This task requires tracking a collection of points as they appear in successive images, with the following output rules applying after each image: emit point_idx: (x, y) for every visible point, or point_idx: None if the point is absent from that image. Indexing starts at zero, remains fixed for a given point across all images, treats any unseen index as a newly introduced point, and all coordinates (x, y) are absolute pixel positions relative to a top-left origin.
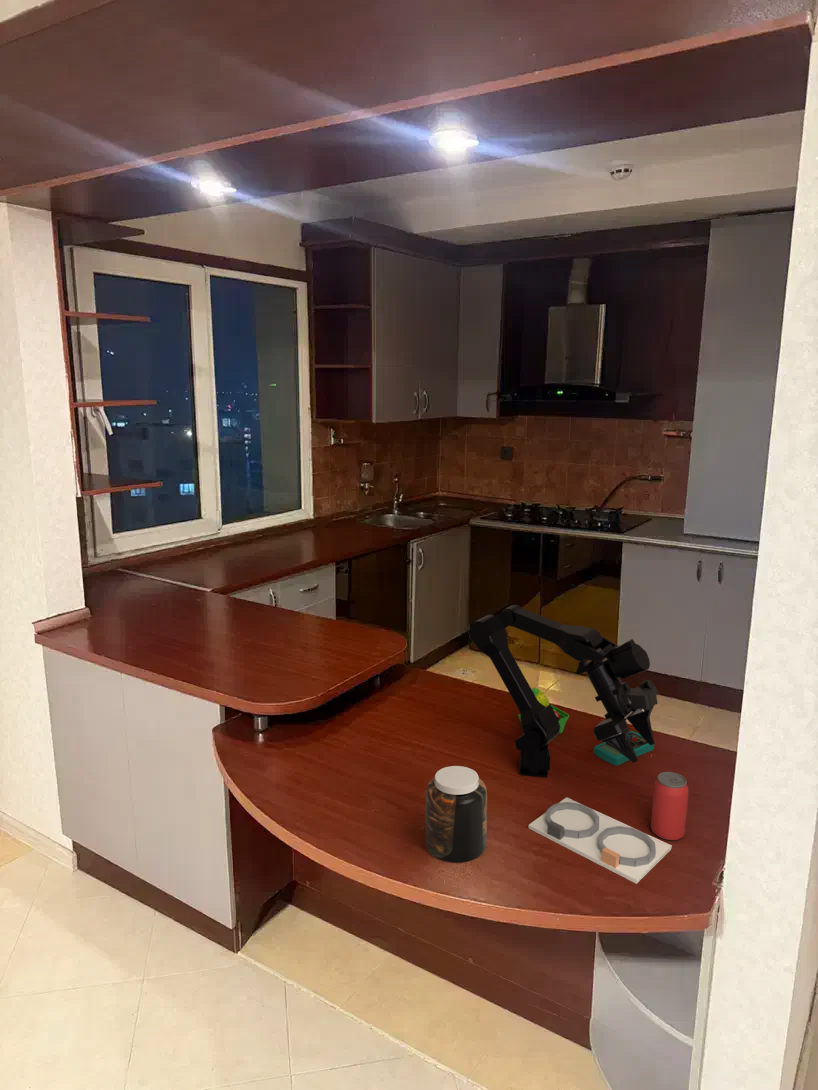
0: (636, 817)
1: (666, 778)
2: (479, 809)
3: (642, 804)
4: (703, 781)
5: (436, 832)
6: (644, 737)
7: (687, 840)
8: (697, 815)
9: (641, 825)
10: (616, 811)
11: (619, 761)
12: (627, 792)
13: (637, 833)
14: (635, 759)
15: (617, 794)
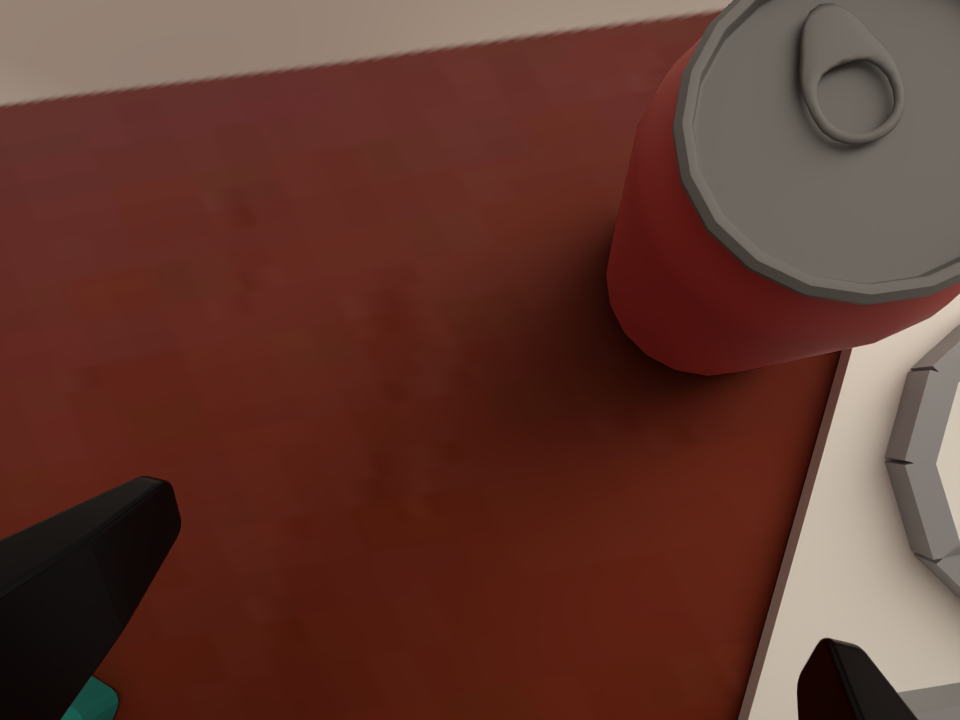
0: (639, 475)
1: (843, 196)
2: None
3: (478, 466)
4: (86, 193)
5: None
6: (88, 653)
7: None
8: (445, 159)
9: (712, 431)
10: (634, 603)
11: (83, 692)
12: (387, 576)
13: (944, 426)
14: (879, 687)
15: (437, 632)
